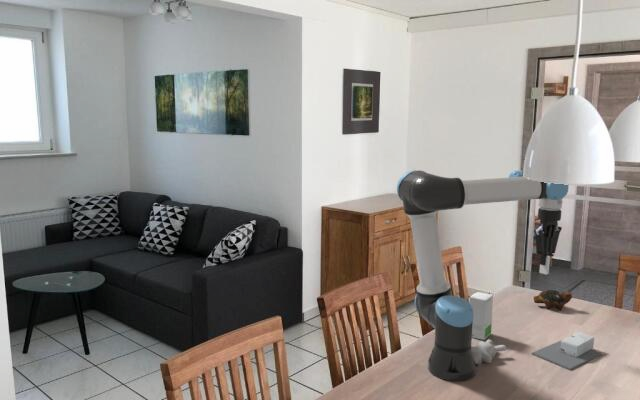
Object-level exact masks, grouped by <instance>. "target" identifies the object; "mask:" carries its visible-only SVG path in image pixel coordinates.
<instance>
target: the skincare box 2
mask: <svg viewBox="0 0 640 400" xmlns="http://www.w3.org/2000/svg"><path fill="white" fill-rule="evenodd" d="M563 339H564V340H563ZM563 339H561V340H562V341H561V340H560V341H561V350H560V351H561V352H564V353H566V354H568V355H572V356H575V357H578V356H580V355H582V354H583V353H585V352H587V351H589V350H590V349H592V350H593V349H594V344H595V337H594V336H592V335H589V334H587V333H583V332H580V331H578V332H575V333H574V334H571V335H570V336H568V337H565V338H563Z"/></svg>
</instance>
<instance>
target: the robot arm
mask: <svg viewBox="0 0 640 400" xmlns="http://www.w3.org/2000/svg"><path fill="white" fill-rule="evenodd" d="M396 193H397V196H398V197H399V199H400V200H401V201H402V206H403V211H404V215H406V216H407V217H408V218H409V220H410V225H411V226H410V228H411V234H412V239H413V246H414V253H415V259H416V266H417V272H418V279H419V280H418V281H419V283H418V285H417V286H416V294H415V297H414V307H415V309H416V311H417V312H418V314H419V315H420V317H421V318H422V319H423V320H425V321H426V322H427V323H428V324H429V325H430V326H431V327H432V328H433V329H434V342H433V345H434V346H433V348H432V350H431V352H430V355H429V358H428V361H427V362H428V363H427V368H428V371H429V372H430V373H431V375H434V376H436V377H437V378H439V379H442V380H447V381H451V382H452V381H453V382H454V381H455V382H460V381H461V382H462V381H468V380H470V379H472V378H474V377H475V375H476V370H477V366H476V365H477V364H475V362H474V360H473V355H472V351H471V347H472V344H473V343H472V342H473V340H472V338H473V337H472V326H473V318H474V316H473V307H472V305H471V304H470V301H468V300H467V299H465V298H464V297H459V296H456V295H453V294H452V293H453V292H452V287H451V283H450V282H448V281H447V280H446V277H445V270H444V264H443V256H442V251H441V250H442V249H441V244H440V243H441V241H440V234H439V229H438V221H437V213H438V212H440V211H448V210H454V209H455V210H457V209H462V208H464V206H465V205H466V206H467V205H479V204H489V203H491V204H492V203H502V202H503V203H504V202H515V201H526V200H527V201H529V200H538V207H539V208H538V210H537V219H539V221H540V222H539V224H538V228H535V229H533V233H534V237H535V246H536V247H535V248H536V249H535V250H536V255H538V256H540V258H539V271H538V272H539V273H540V274H542V275H546V276H547V275H549V273H550V265H551V257H554V254H556V250H557V245H558V241H559V237H560V233H561V232H562V226H559V223H558V222H559V221H561V219H562V210H561V209H562V207H563V199H564V198H565V197H566V196H567V194H568V193H569V184H568V185H564V184H554V183H544V182H538V181H532V180H528V179H525V178H523V170H522V169H519V170H512V171H511V172H510V173H509V175H508V177H499V178H496V177H495V178H484V179H482V178H480V179H468V180H467V179H465V180H462V178H460V177H444V176H440V175H436V174H433V173H432V174H431V173H428V172H426V171H423V170H420V169H419V170H415V169H414V170H410V171H409V170H408V171H407V172H405V173H404V174H403V175H401V176H400V178H399V180H398V181H397V185H396Z"/></svg>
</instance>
